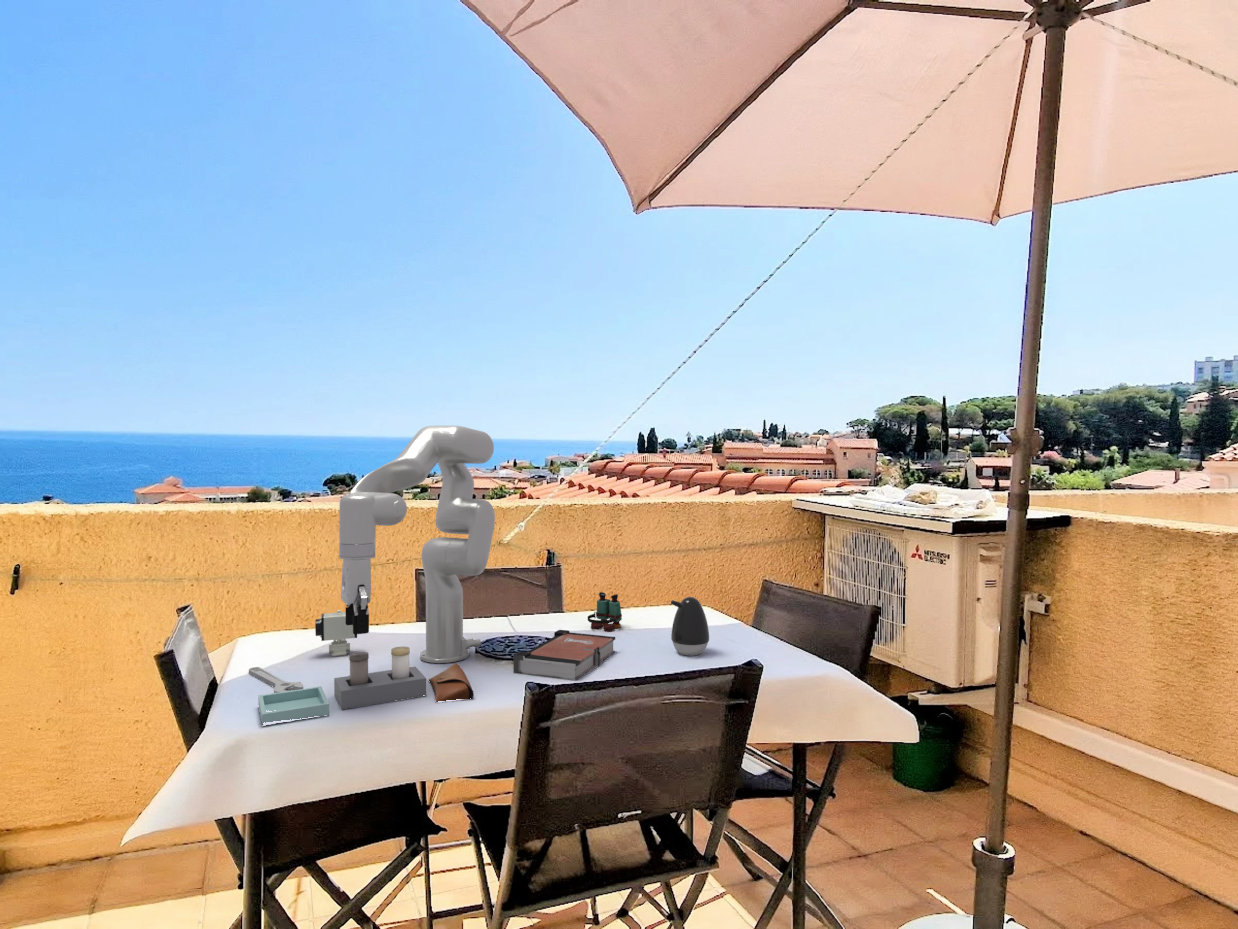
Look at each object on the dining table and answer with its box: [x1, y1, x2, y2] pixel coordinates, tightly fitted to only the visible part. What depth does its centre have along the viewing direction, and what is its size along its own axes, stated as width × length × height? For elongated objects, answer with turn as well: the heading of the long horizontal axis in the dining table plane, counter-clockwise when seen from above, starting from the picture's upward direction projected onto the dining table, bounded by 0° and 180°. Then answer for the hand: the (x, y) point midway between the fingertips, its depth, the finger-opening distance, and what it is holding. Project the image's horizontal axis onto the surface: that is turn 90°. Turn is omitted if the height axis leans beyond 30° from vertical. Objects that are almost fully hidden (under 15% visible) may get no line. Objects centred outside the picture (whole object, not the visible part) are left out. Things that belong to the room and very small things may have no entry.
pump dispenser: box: [670, 596, 710, 657], centre depth 200 cm, size 10×10×15 cm
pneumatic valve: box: [314, 609, 358, 658], centre depth 199 cm, size 6×12×12 cm, turn 111°
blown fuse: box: [348, 651, 370, 686], centre depth 164 cm, size 4×4×10 cm
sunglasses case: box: [428, 662, 474, 703], centre depth 171 cm, size 18×7×7 cm, turn 21°
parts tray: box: [257, 685, 330, 723], centre depth 156 cm, size 13×13×2 cm
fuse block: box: [333, 666, 427, 710], centre depth 166 cm, size 18×10×4 cm, turn 119°
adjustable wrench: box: [248, 666, 304, 693], centre depth 176 cm, size 25×6×2 cm, turn 41°
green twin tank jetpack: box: [587, 591, 623, 632], centre depth 226 cm, size 9×11×10 cm
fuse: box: [390, 646, 411, 680], centre depth 168 cm, size 4×4×10 cm
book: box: [512, 629, 616, 682], centre depth 192 cm, size 26×18×5 cm
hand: (356, 629), depth 163 cm, fingers open, 9 cm apart
